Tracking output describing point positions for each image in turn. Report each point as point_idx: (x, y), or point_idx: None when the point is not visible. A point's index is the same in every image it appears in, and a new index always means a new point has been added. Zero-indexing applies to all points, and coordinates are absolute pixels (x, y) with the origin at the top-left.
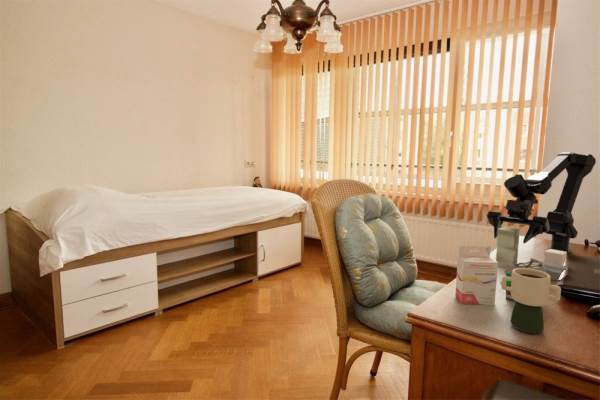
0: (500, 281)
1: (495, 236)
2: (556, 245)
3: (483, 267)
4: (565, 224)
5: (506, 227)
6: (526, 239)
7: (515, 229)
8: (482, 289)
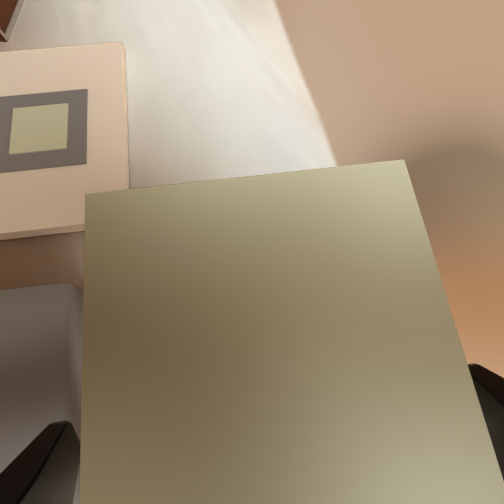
0: (121, 43)
1: None
2: None
3: None
4: None
5: (405, 464)
6: (13, 473)
7: (133, 401)
8: None
